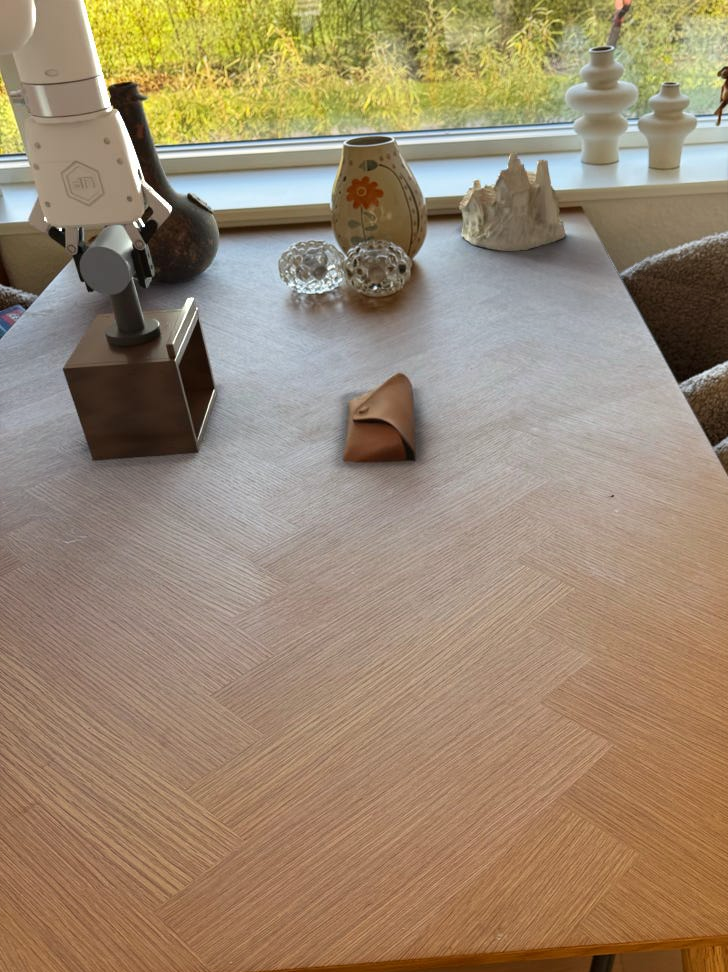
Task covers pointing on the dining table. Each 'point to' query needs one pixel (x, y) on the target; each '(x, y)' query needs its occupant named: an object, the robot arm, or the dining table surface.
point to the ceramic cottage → (513, 209)
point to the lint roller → (118, 286)
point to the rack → (143, 387)
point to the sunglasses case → (382, 424)
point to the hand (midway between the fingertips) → (120, 284)
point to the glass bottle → (191, 225)
